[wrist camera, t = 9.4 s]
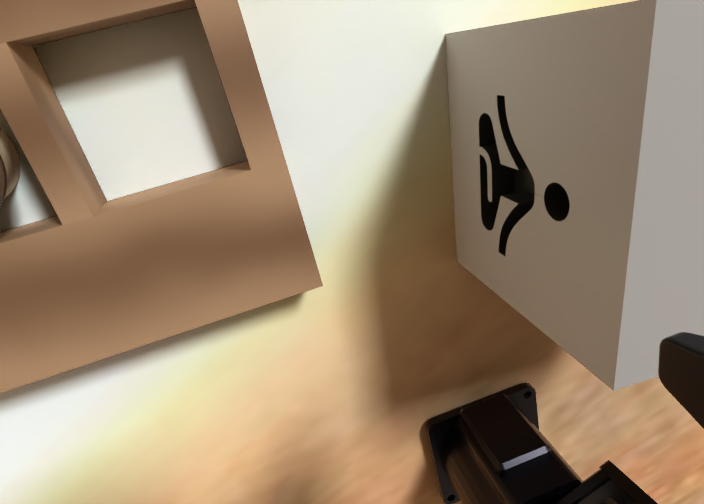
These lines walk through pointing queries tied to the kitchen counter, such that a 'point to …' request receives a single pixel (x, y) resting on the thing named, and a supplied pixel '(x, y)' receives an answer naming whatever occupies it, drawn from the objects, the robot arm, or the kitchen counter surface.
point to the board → (137, 210)
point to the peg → (8, 166)
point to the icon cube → (586, 175)
